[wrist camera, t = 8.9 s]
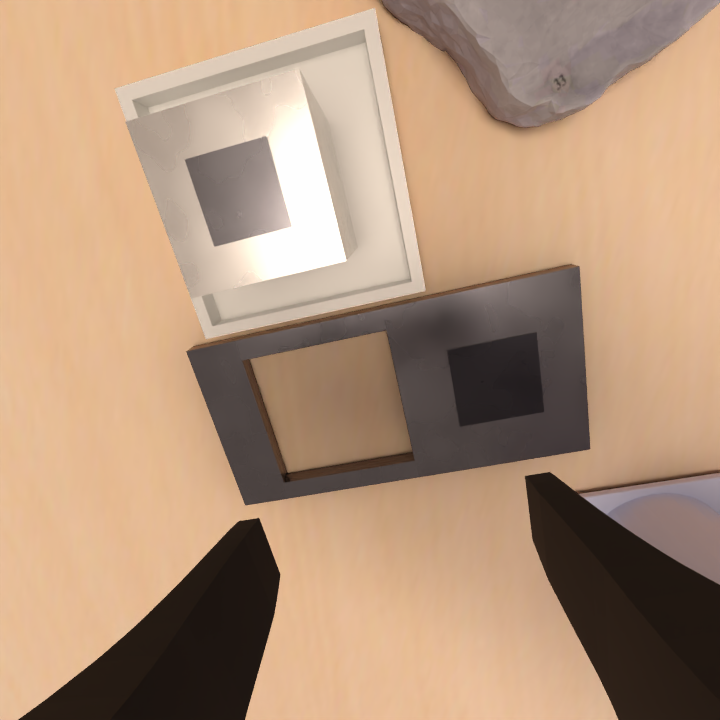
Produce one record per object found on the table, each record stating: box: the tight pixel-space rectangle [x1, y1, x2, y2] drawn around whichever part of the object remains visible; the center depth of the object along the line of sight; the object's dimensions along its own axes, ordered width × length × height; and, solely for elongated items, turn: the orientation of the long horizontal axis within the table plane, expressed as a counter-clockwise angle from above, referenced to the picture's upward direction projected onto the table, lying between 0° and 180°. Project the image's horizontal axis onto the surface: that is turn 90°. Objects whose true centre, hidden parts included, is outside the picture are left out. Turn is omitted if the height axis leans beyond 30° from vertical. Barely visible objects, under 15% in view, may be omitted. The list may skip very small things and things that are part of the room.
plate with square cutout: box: [186, 264, 590, 505], centre depth 20 cm, size 9×18×1 cm, turn 103°
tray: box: [115, 8, 426, 339], centre depth 17 cm, size 10×10×2 cm
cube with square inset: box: [126, 68, 358, 298], centre depth 14 cm, size 5×5×6 cm
